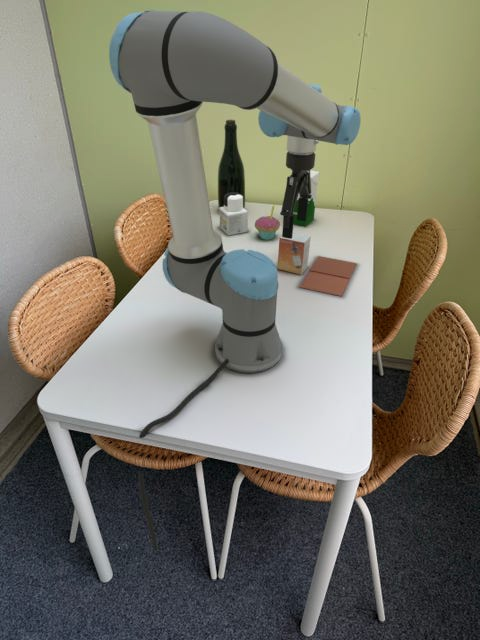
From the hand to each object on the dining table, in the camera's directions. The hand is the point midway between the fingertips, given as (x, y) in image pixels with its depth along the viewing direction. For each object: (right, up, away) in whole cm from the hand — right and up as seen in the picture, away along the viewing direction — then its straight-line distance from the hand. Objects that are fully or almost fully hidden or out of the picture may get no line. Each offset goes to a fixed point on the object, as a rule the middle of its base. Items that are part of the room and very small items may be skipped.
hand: (294, 228), depth 126 cm
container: (-18, +6, +31) cm, 36 cm away
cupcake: (-6, +2, +26) cm, 27 cm away
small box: (0, -11, +8) cm, 13 cm away
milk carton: (+7, +10, +37) cm, 39 cm away
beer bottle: (-19, +16, +46) cm, 52 cm away
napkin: (+11, -13, +4) cm, 17 cm away
